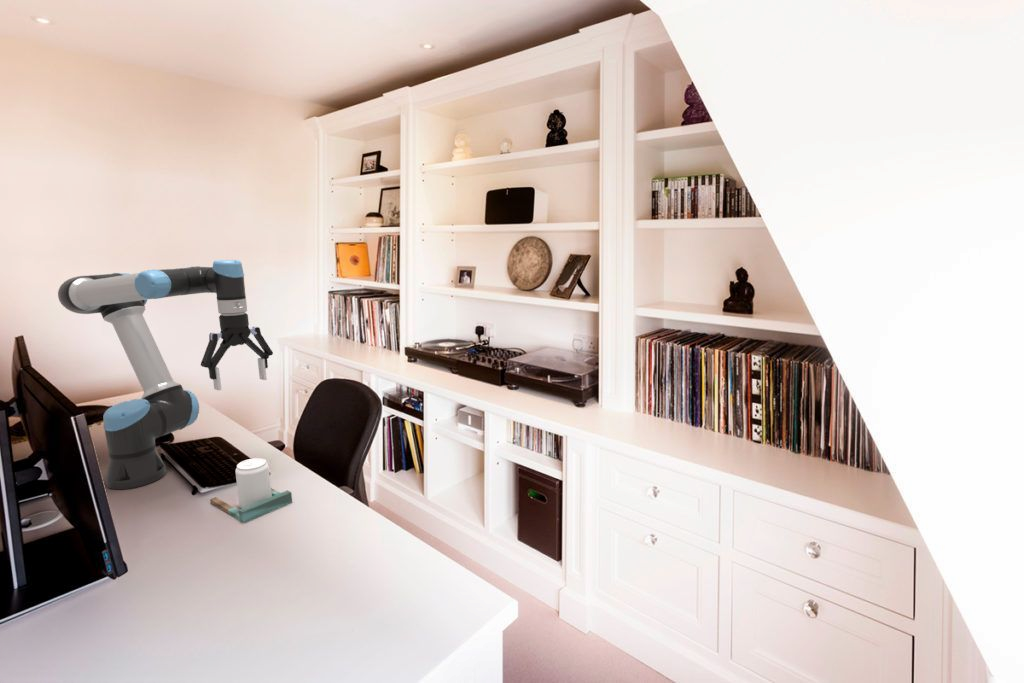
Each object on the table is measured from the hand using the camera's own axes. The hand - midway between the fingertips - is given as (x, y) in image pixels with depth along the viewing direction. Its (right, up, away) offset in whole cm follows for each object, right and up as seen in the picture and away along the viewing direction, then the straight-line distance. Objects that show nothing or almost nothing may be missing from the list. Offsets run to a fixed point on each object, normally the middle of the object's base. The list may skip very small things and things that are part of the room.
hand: (241, 384), depth 162 cm
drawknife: (+9, -32, -13) cm, 35 cm away
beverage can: (+11, -32, -14) cm, 36 cm away
